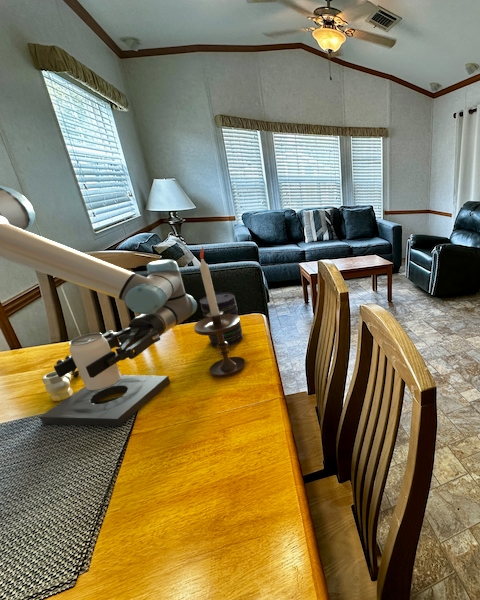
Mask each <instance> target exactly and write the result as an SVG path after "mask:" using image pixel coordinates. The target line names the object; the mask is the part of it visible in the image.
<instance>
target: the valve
mask: <svg viewBox="0 0 480 600" xmlns="http://www.w3.org/2000/svg"><path fill="white" fill-rule="evenodd" d="M70 357H72V355H71V354H68V355H66V356H65V357H64V360H66V359H68V358H70ZM64 360H63V359H58V360H57V361H56V363H55V365H57V364H59V363H61V362H62V361H64ZM79 376H80V373H79V371H78V369H77V368H76V369H74V370H73V371H71V372H69V373H68V374H66V375H64V376H63V377H58V375H57V373H56V371H55V370H54V371H51V372H48V373H46V374H44V375H43V376H42V378H41V381H42V383H43V384H44V385H45V386H44V387H45V391H46V392H47V393H48V394H49V395H50V396H49V397H50V399H51V400H52V401H53V402H60V401H61V402H62V401H64V400H65V399H67V398H68V397H70V396H71V395H73V394H74V391H73V388H72V386H71V381H72V380H73V379H72V378H75V379H76V378H79Z"/></svg>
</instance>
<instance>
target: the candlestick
mask: <svg viewBox="0 0 480 600" xmlns="http://www.w3.org/2000/svg"><path fill="white" fill-rule="evenodd" d="M204 250H205V249H204V246H201V249H200V253H199V258H200V264H198V265H199V270H200V274H201V279H202V282H203V287H204V291H205V294H206V296H207V299H208V303H209V307H210V311H211V312H210V313H208V314H207V316H208V317H207V318H202V319H201V320H199V321H197V322H196V323H195V324H194V326H193V329H194V332H195V334H196V335H199V336H208V335H218V339H219V343H218V344H217V347H216V348H218V350H220V352H219V356H222V358H221V359H219V360H217V361H215V362H214V363H212V365H210V367H209V373H210V376H212V377H214V378H227V377H231V376H234V375H237V374H238V373H240V372H241V371H242V370H244V369H245V367H246V360H245V359H244V358H243V357H241V356H229V354H230V350H229V349H228V347H229V346H228V342H225V341H224V336H223V333H225V332H228V331H230V330H233V329H234V328H236V327H237V326H238V325H239V324H240V323H241V320H240V319H241V318H240V317H239V315H238V314H237V315H238V316H237V315H233V314H223V313H224V312H223V311H219V310H218V306H217V302H216V297H215V294H216V292H215V290H214V285H213V281H212V280H213V279H212V277H211V272H210V268H209V264H208V263H206V261H205V259H204Z"/></svg>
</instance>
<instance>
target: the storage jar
mask: <svg viewBox="0 0 480 600" xmlns="http://www.w3.org/2000/svg"><path fill="white" fill-rule="evenodd" d="M215 297H216V302H217V306H218V310H219V311H223V312H224V313H223V314H233V315H237V316H238V317H239V315H238V306H237V301H236V297H235V294H233V292H232V293H231V292H215ZM199 303H200V307H201V312H202V317H203V319H205V318H207V317H208V316H207V314H208V313H210V312H211V311H210V307H209V303H208V299H207V295H206V296H203V297H201V299H200V300H199ZM241 324H242V323H241V322H240V324H239V325H238V326H237V327H236V328H234V329H233V330H230V331H228V332H225V333H223V336H224V341H225V342H228V347H231V346H235V345H236V344H238V343H240V342H241V341H242V340H243V339H244V335H243V329H242V325H241ZM207 337H208V339H209V341H210V342H209V343H210V345H211V346H212V347H214V348H218V347H217V344H218V343H219V339H218V335H207Z"/></svg>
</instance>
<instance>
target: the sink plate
mask: <svg viewBox="0 0 480 600" xmlns="http://www.w3.org/2000/svg"><path fill="white" fill-rule="evenodd" d="M170 383H171V380H170V378H169V375H145V374H144V375H143V374H141V375H140V374H121V378H120V380H119V381H118V382H117V383H116V384H114V385H112V386H110V387H108V388H105V389H102V390H95V391H93V390H89V389H87V388H86V386H85V385H84V386H83V387H82V388H80V389H79V390H77V391H76V392H73V394H72V395H71V396H70V397H68V398H67V399H64V400H61V402H60V403H58V404H56V405H55V406H53V407H52V408H50V409H49V410H47V411H45V412H44V413H43V414H41V415H40V416H39V419H40V422H41V423H42V424H43V425H66V426H67V425H69V426H70V425H71V426H72V425H73V426H106V427H107V426H108V427H115V426H116V427H121V426H122V425H123V424H124V423H125V422H127V421H128V420H129V419H130V418H131V417H132V416H134V415H135V414H136V413H137V412H139V410H140V409H142V407H144V406H145V405H147V403H148V402H149V401H150V400H152V399H153V398H154V397H155V396H157V394H159V393H160V392H161V391H162V390H163V389H164V388H166V386H168V385H169V384H170ZM117 393H124V394H122V395H121V396H119V397H118V398H116V399H114V400H111V401H109V402H104V403H97V402H98V401H100V400H101V399H103V398H106V397H107V396H110V395H113V394H117ZM96 403H97V404H96Z"/></svg>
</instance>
